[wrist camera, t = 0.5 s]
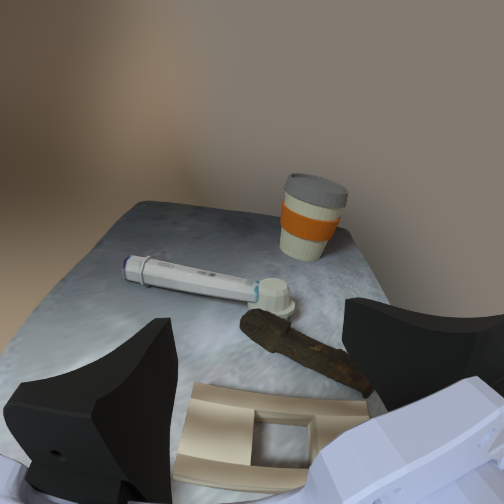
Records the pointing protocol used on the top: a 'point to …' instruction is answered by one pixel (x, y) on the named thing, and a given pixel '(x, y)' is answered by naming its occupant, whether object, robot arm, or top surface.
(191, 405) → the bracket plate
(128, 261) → the white elongated piece
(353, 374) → the dark brown wood piece
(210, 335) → the top surface
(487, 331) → the robot arm
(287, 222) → the reusable coffee cup
